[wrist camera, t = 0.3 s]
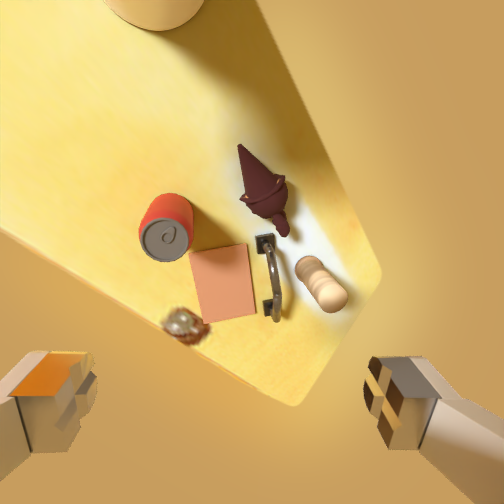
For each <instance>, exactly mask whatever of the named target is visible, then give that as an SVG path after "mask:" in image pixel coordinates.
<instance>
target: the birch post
mask: <svg viewBox="0 0 504 504" xmlns="http://www.w3.org/2000/svg"><path fill="white" fill-rule="evenodd" d="M295 274H296V276H297V278H298V279H299V280H300V281H301V282H303V283H304V285H305V286H306V287H307V289H308V290H309V292H310V293H311V294H312V296H313V297H314V299H315V300H316V301H317V303H318V304H319V306H320V307H321V308H322V310H323V311H325V312H327V313H335V312H338V311H340V310H341V309H342V308H343V307H344V306H345V305H346V303H347V300H348V294H347V292H346V291H345V290H344V289H343V288H342V287H341V286H340V284H339V283H338V282H337V281H336V280H335V279H334V278H333V277H332V276H331V275H330V274H329V273H328V272H327V271H326V270H325V268H324V267H323V266H322V263H321V262H320V261H319V260H318V259H317V258H316V257H314V256H305V257H303V258H301V259H300V260H299V261H298V262H297V264H296V266H295Z"/></svg>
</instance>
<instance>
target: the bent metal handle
mask: <svg viewBox="0 0 504 504" xmlns="http://www.w3.org/2000/svg"><path fill="white" fill-rule="evenodd" d="M255 240H256V249H257V253H258V254H261V253H266V256H267V262H268V268H269V274H270V280H271V286H272V292H273V299H270V300H265V301H263V309H264V315H265V316H270V315H271V317H272V319H273V321H274V322H275V323H278V322H279V321H280V319H281V301H282V292H281V286H280V280H279V274H278V268H277V262H276V257H275V246H274V235H273V233H270V234H264V235H258V236H255Z"/></svg>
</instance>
